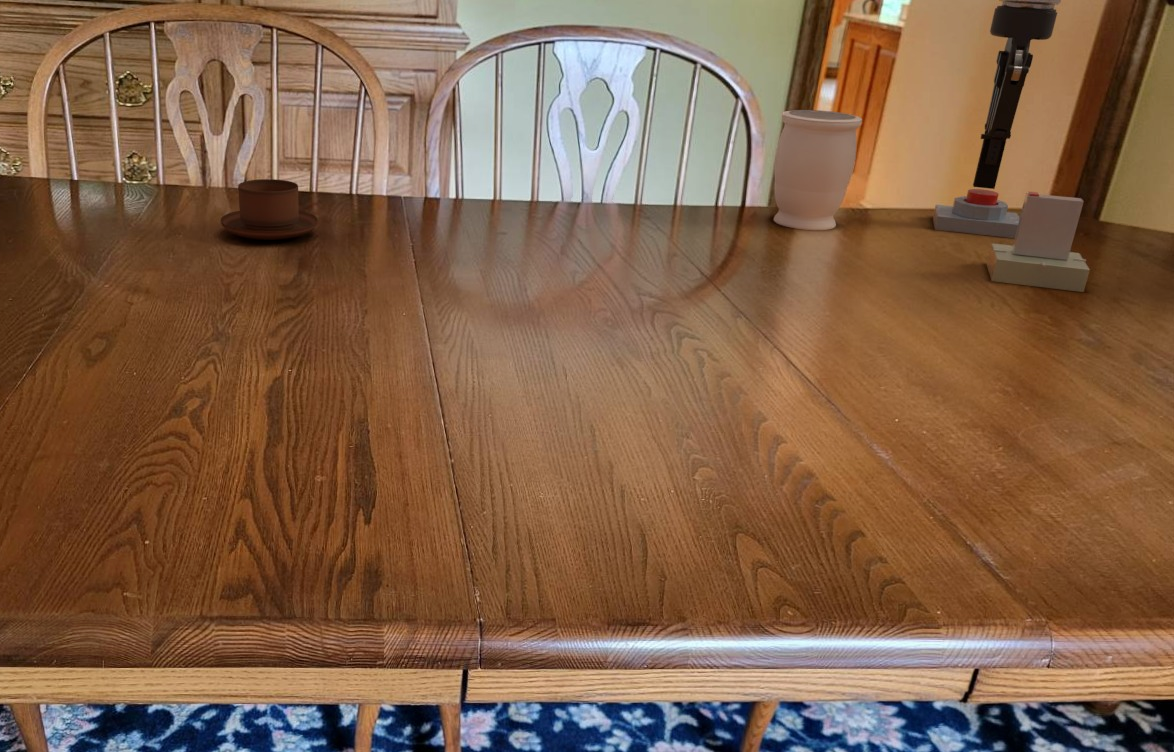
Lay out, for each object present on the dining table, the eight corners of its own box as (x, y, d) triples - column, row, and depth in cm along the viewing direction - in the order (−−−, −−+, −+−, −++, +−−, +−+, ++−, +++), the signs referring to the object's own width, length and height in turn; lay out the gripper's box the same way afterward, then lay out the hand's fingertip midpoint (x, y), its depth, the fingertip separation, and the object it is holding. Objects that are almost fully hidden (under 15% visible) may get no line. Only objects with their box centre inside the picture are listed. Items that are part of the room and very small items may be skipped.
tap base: (1072, 274, 136) (1079, 249, 135) (1085, 297, 128) (1093, 270, 126) (984, 264, 139) (990, 239, 138) (990, 285, 130) (997, 259, 129)
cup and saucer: (205, 229, 140) (202, 180, 137) (289, 219, 146) (288, 172, 144) (248, 251, 131) (245, 199, 128) (335, 239, 138) (335, 190, 135)
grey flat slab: (1065, 256, 132) (1081, 196, 129) (1067, 260, 130) (1084, 199, 127) (1011, 250, 134) (1026, 190, 131) (1013, 254, 132) (1028, 193, 129)
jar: (787, 234, 149) (805, 120, 143) (752, 216, 158) (768, 108, 152) (857, 233, 152) (878, 121, 145) (819, 215, 161) (837, 109, 154)
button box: (1013, 228, 158) (1020, 200, 157) (1019, 240, 151) (1026, 211, 150) (932, 219, 161) (938, 192, 160) (934, 231, 154) (940, 203, 153)
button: (994, 203, 156) (997, 190, 155) (996, 208, 152) (999, 196, 152) (964, 200, 157) (967, 187, 156) (966, 205, 154) (968, 193, 153)
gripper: (992, 1, 150) (952, 175, 160) (1000, 6, 139) (957, 192, 149) (1052, 5, 148) (1008, 181, 158) (1065, 9, 137) (1017, 199, 147)
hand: (983, 186), depth 154 cm, fingers closed
